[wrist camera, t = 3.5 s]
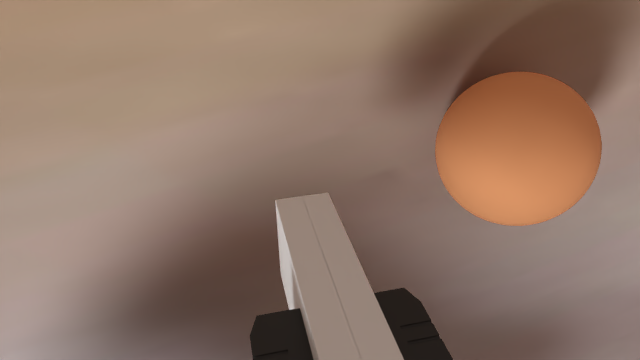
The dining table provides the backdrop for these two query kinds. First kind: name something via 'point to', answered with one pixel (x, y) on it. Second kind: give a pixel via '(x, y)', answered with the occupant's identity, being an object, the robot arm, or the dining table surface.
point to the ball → (518, 148)
